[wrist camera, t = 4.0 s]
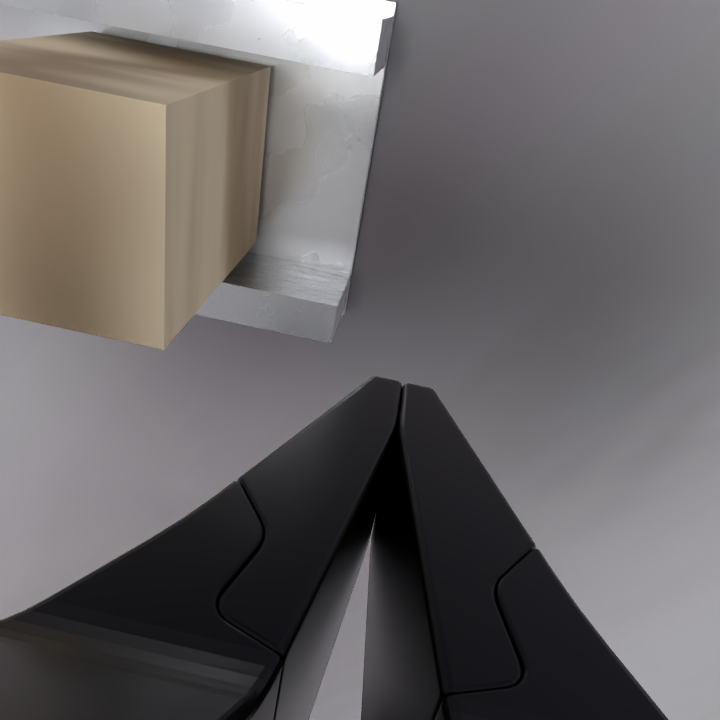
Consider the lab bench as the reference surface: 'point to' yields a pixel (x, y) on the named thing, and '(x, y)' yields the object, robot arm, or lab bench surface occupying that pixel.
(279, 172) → the chute
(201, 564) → the robot arm
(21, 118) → the block
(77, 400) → the lab bench surface
